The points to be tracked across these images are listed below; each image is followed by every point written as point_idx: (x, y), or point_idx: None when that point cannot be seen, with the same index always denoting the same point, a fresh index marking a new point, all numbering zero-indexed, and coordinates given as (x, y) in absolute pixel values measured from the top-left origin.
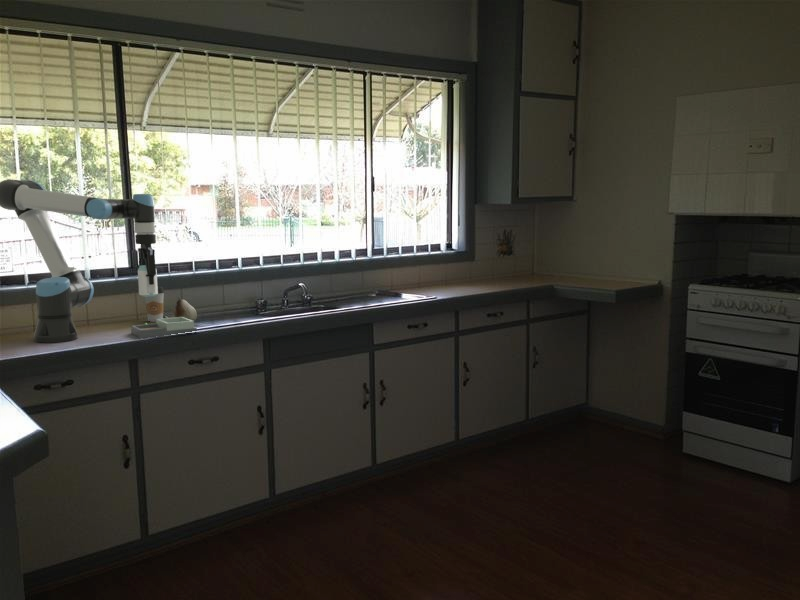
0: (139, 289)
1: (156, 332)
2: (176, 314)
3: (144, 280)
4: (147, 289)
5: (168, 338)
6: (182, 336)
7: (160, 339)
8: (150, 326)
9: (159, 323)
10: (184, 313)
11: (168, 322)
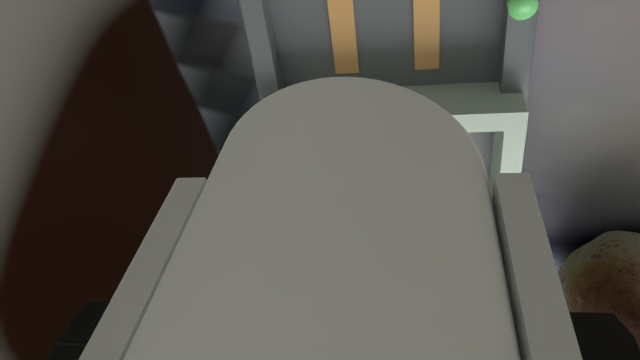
0: (305, 128)
1: (242, 17)
2: (618, 274)
3: (142, 321)
4: (176, 215)
5: (176, 59)
6: (218, 143)
7: (153, 5)
8: (503, 33)
9: (435, 102)
10: (573, 311)
11: (494, 171)
